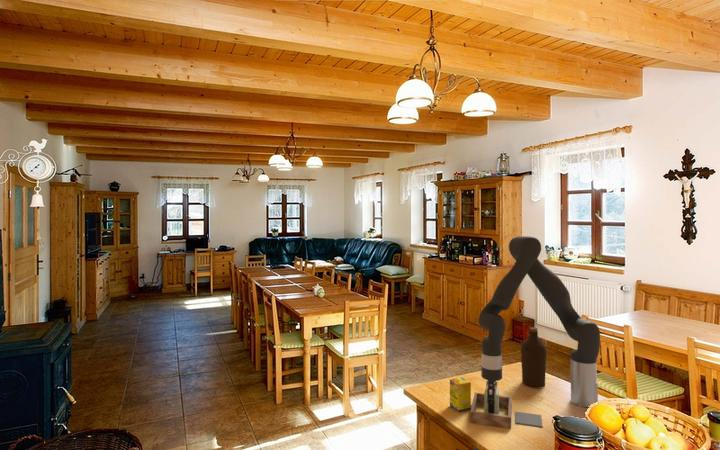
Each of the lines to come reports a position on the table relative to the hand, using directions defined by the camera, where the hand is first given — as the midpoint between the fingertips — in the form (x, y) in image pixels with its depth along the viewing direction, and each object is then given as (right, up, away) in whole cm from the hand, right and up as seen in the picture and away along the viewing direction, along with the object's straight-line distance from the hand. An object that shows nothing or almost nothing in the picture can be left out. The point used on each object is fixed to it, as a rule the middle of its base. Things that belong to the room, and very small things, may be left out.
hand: (491, 409), depth 164 cm
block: (0, -2, 0) cm, 2 cm away
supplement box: (-11, -2, +6) cm, 12 cm away
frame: (0, -2, 0) cm, 2 cm away
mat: (+12, -2, -4) cm, 13 cm away
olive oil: (+27, -1, +28) cm, 39 cm away
